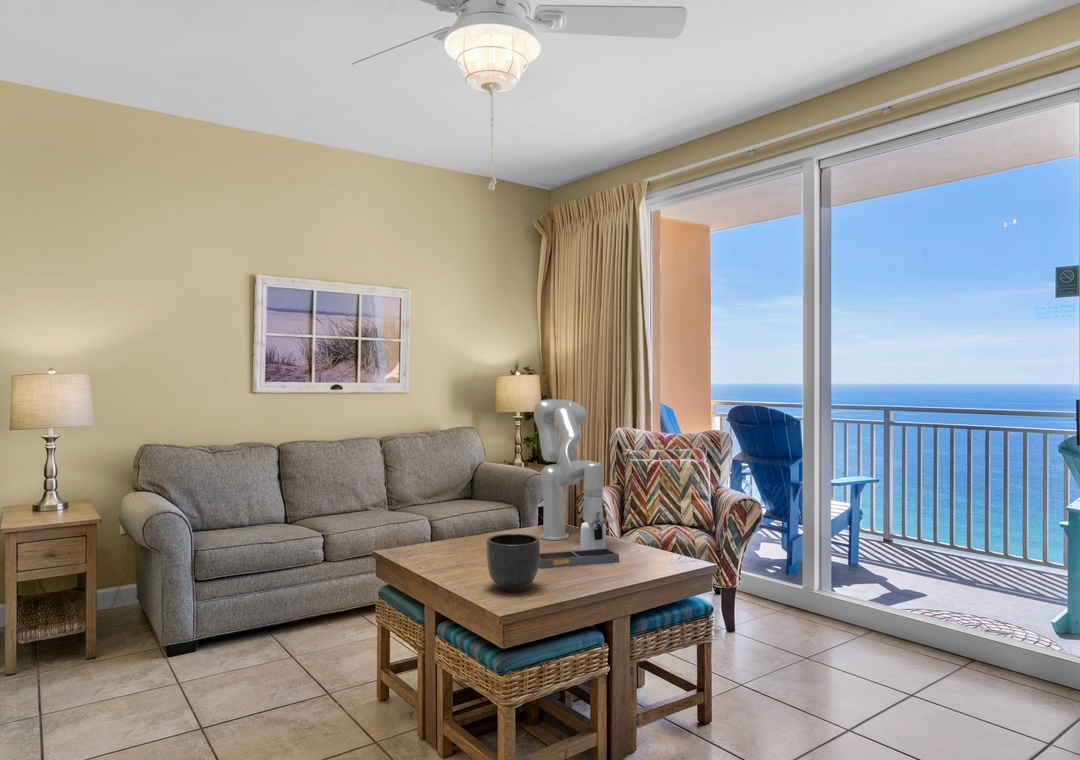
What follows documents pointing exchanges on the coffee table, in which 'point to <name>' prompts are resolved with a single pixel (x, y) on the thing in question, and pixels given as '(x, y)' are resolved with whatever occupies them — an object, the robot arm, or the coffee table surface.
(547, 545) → the coffee table surface
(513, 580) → the planter
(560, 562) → the divided tray
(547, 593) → the coffee table surface
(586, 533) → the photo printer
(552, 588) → the coffee table surface
